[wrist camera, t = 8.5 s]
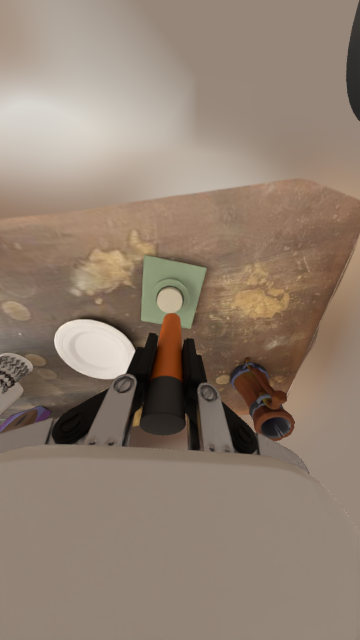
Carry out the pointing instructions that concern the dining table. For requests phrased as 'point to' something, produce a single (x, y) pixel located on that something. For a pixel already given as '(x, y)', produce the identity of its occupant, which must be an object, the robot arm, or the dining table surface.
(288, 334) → the dining table surface
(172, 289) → the circle pad
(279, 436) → the mug
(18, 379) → the decorative candle
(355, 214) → the dining table surface
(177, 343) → the marker
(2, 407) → the container
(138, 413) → the potato
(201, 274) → the push button block
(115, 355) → the plate
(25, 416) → the cereal box
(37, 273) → the dining table surface
